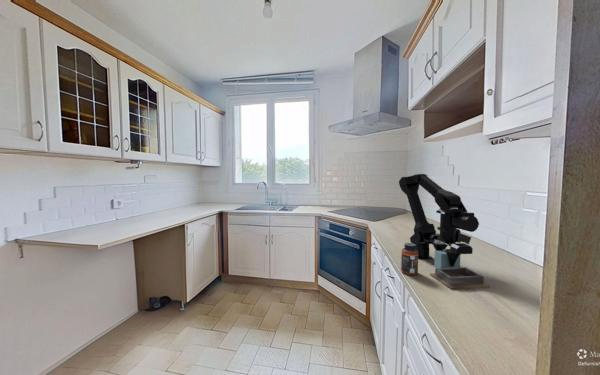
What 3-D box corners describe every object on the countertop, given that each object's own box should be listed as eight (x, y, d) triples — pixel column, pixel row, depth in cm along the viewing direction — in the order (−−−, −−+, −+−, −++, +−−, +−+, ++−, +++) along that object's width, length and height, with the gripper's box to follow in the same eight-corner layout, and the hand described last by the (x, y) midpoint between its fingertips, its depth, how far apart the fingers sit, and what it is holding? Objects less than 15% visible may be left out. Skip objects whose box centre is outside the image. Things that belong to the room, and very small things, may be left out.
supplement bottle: (417, 277, 87) (417, 247, 87) (399, 273, 90) (400, 245, 90) (418, 271, 92) (419, 243, 92) (402, 268, 96) (402, 241, 95)
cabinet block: (434, 267, 97) (434, 248, 96) (452, 266, 97) (453, 247, 97) (440, 271, 93) (441, 251, 92) (459, 270, 93) (460, 250, 93)
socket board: (430, 275, 89) (430, 267, 89) (464, 273, 90) (464, 265, 90) (450, 289, 78) (451, 280, 78) (489, 287, 79) (490, 278, 79)
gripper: (487, 231, 85) (485, 272, 86) (450, 220, 104) (449, 255, 105) (458, 231, 84) (457, 274, 85) (426, 221, 103) (425, 255, 104)
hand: (447, 263), depth 95 cm, fingers open, 5 cm apart
